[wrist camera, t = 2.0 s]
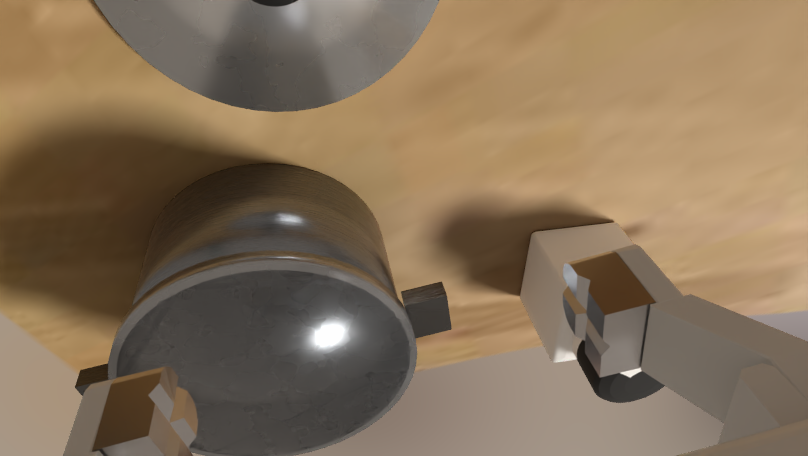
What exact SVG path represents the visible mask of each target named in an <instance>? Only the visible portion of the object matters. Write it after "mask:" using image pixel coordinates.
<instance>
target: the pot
mask: <svg viewBox="0 0 808 456" xmlns="http://www.w3.org/2000/svg"><path fill="white" fill-rule="evenodd" d="M401 294H402V298H403V303H404V306H403V304H402V303H401V302H400V300H399V299H398V297H397V293H396V289H395V285H394V281H393V277H392V273H391V269H390V265H389V261H388V257H387V253H386V250H385V246H384V242H383V238H382V234H381V231H380V228H379V225H378V223H377V221H376V219H375V217H374V215H373V213H372V212H371V210H370V209H369V208H368V206H367V205H366V204H365V202H364V201H363V200H362V199H361V198H360V197H359V196H358V195H357V194H356V193H354V192H353V191H352V190H350V189H349V188H348V187H346V186H345V185H343V184H342V183H340V182H338V181H336V180H335V179H333V178H331V177H329V176H326V175H324V174H321V173H319V172H316V171H313V170H309V169H306V168H302V167H297V166H291V165H285V164H251V165H244V166H238V167H233V168H229V169H226V170H222V171H219V172H216V173H214V174H211V175H209V176H206V177H204V178H202V179H200V180H198V181H197V182H195V183H193V184H191V185H190V186H188V187H187V188H185V189H184V190H183V191H181V192H180V193H179V194H178V195H176V196H175V197H174V198H173V199H172V200H171V201H170V203H169V204H168V205H167V206H166V207H165V208H164V210H163V211H162V213H161V214H160V216H159V217H158V219H157V221H156V223H155V225H154V227H153V229H152V233H151V237H150V240H149V244H148V248H147V251H146V255H145V259H144V263H143V266H142V270H141V274H140V278H139V281H138V285H137V289H136V293H135V296H134V300H133V304H132V307H131V308H130V310H129V311H128V312H127V314H126V315H125V317H124V318H123V319H122V321H121V323H120V326H119V328H118V330H117V332H116V335H115V338H114V342H113V345H112V349H111V353H110V357H109V361H108V364H104V365H100V366H96V367H92V368H87V369H83V370H80V373H79V376H78V379H77V383H76V386H75V388H76V389H77V390H78V391H79V393H80V394H81V395H82V396H83V394H84V392H85V390H86V389H87V388H88V387H89V386H90V385H91V384H95V383H99V382H103V381H108V380H112V379H116V378H118V377H123V376H127V375H131V374H135V373H140V372H144V371H148V370H153V369H157V368H161V367H172V369H173V370H174V372H175V373H176V374H177V376H178V383H177V387H179V388H182V389H184V390H187V391H188V392H189V394H190V395H191V397H192V399H193V401H194V404H195V407H196V412H197V421H198V426H197V436H196V438H195V439H194V440H193V442H192V443H191V444H190V446H189V447H188V449H189V450H190V452H192V453H196V454H201V455H205V456H294V455H299V454H303V453H308V452H312V451H315V450H318V449H321V448H325V447H328V446H330V445H333V444H336V443H338V442H341V441H343V440H345V439H347V438H349V437H351V436H353V435H355V434H357V433H359V432H361V431H362V430H364V429H366V428H367V427H369V426H370V425H372V424H373V423H375V422H376V421H377V420H379V419H380V418H381V417H382V416H383V415H385V414H386V413H387V412H388V411H389V410H390V409H391V408H392V407H393V406H394V405H395V404H396V403H397V401H398V400H399V399H400V398H401V396H402V395H403V393H404V392H405V390H406V389H407V387H408V385H409V383H410V381H411V379H412V377H413V374H414V370H415V366H416V359H417V347H416V339H415V338H419V337H423V336H427V335H431V334H435V333H439V332H443V331H447V330H451V322H450V315H449V308H448V301H447V295H446V292H445V289H444V287H443V284H442V282H438V283H434V284H430V285H426V286H422V287H418V288H414V289H410V290H406V291H402V292H401Z"/></svg>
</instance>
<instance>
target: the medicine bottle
mask: <svg viewBox="0 0 808 456" xmlns="http://www.w3.org/2000/svg"><path fill="white" fill-rule="evenodd" d="M630 245H634V243H633V242H632V241H631V239H630V238H629V237H628V236H627V234H626V233H625V232H624V231H623V229H622V228H621V227H620V226H619V225H618V224H617V223H615V222H613V223H605V224H596V225H588V226H579V227H571V228H563V229H554V230H546V231H537V232H534V233H532V235H531V239H530V244H529V250H528V255H527V261H526V266H525V272H524V277H523V283H522V288H521V293H520V299H521V301H522V303H523V305H524V307H525V309H526V311H527V313H528V315H529V317H530V319H531V321H532V323H533V325H534V327H535V329H536V331H537V333H538V335H539V337H540V339H541V341H542V343H543V345H544V347H545V349H546V351H547V353H548V355H549V357H550V359H551V361H553V362H562V361H569V360H575V359H577V360H578V362H579V364H580V366H581V367H582V370H583V371H584V373H585V375H586V377H587V379H588V381H589V382H590V384H591V386H592V388H593V390H594V392H595V393H596V395H597V396H599V397H600V398H602V399H605V400H607V401H610V402H616V403H623V402H631V401H635V400H638V399H642V398H644V397H647V396H649V395H651V394H653V393H655V392H657V391H658V390H660V389H661V388H663V387H664V386H665V385H663V384H662V383H660V382H659V381H657V380H656V379H654V378H652V377H651V376H649V375H648V374H646V373H645V372H643V371H642V370H641V368H638V369H634V370H629V371H625V372H621V373H617V374H613V375H609V376H604V377H599V375H598V373H597V372H596V370H595V368H594V367H593V365H592V364H591V362H590V360H589V359H588V357H587V355H586V354H585V341H584V340H582V339H580V338H578V337H576V336H575V335H574V333H573V331H572V329H571V328H570V326H569V323H568V321H567V319H566V316H565V311H564V307H563V292H564V290H565V289H566V288H567V286H568V285H567V283H566V282H565V280H564V279H563V267H564V265H565V263H567V262H571V261H575V260H578V259H582V258H586V257H590V256H593V255H597V254H601V253H605V252H608V251H612V250H616V249H619V248H623V247H627V246H630Z"/></svg>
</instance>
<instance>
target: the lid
mask: <svg viewBox="0 0 808 456" xmlns="http://www.w3.org/2000/svg"><path fill="white" fill-rule="evenodd" d="M94 1H95V3H96V4H97V6H98V7H99V9H100V10H101V11H102V13H103V14H104V16H105V17H106V18H107V20H108V21H109V23H110V24H111V25H112V26H113V28H114V29H115V30H116V31H117V32H118V33H119V34H120V36H121V37H122V38H123V39H124V40H125V41H126V42H127V43H128V45H129V46H131V47H132V48H133V49H134V50H135V51H136V52H137V53H138V54H139V55H140V56H142V57H143V58H144V59H145V60H146V61H147V62H148V63H149V64H151V65H152V66H153V67H155V68H156V69H158V70H159V71H160V72H162V73H163V74H164V75H166V76H167V77H169V78H170V79H172V80H174V81H175V82H177V83H179V84H181V85H182V86H184V87H186V88H188V89H189V90H191V91H194V92H196V93H198V94H200V95H203V96H205V97H207V98H210V99H212V100H215V101H218V102H222V103H225V104H228V105H231V106H235V107H240V108H246V109H251V110H258V111H271V112H284V111H299V110H306V109H312V108H318V107H321V106H325V105H328V104H331V103H335V102H338V101H340V100H342V99H345V98H347V97H350V96H352V95H354V94H356V93H358V92H360V91H361V90H363V89H365V88H367V87H368V86H370V85H372V84H373V83H375V82H376V81H377V80H379V79H380V78H381V77H383V76H384V75H385V74H386V73H388V72H389V71H390V70H391V69H392V68H393V67H394V66H395V65H396V64H397V63H398V62H399V61H400V60H401V59H403V58H404V57H405V55H406V54H407V53H408V52H409V50H410V49H411V48H412V47H413V45H414V44H415V43H416V42H417V40H418V39H419V37H420V36H421V34H422V33H423V31H424V29H425V28H426V26H427V24H428V23H429V21H430V19H431V17H432V15H433V13H434V11H435V9H436V6H437V4H438V2H439V0H94Z"/></svg>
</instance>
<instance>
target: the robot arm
mask: <svg viewBox="0 0 808 456" xmlns="http://www.w3.org/2000/svg"><path fill="white" fill-rule="evenodd" d="M563 279H564V280H565V282H566V283H567V285H568V286H567V288H566V289H565V290H564V292H563V307H564V311H565V316H566V319H567V321H568V323H569V326H570V328H571V329H572V331H573V333H574V335H575V336H576V337H578V338H580V339H582V340H584V341H585V354H586V355H587V357H588V359H589V360H590V362H591V364H592V365H593V367H594V368H595V370H596V372H597V373H598V375H599V377H604V376H609V375H613V374H617V373H621V372H625V371H629V370H634V369H638V368H641V370H642V371H643V372H645V373H646V374H648V375H649V376H651V377H652V378H654V379H656V380H657V381H659V382H660V383H662V384H663V385H665V386H666V387H668V388H670V389H671V390H673V391H674V392H676V393H677V394H679V395H680V396H682V397H683V398H685V399H687V400H688V401H690V402H692V403H693V404H694V405H696V406H697V407H699V408H701V409H702V410H704V411H705V412H707V413H708V414H710V415H711V416H713V417H715V418H716V419H718V420H719V421H721V422H722V423H724V426H723V429H722V432H721V435H720V438H719V441H718V444H717V445H713V446H709V447H706V448H702V449H698V450H695V451H691V452H688V453H684V454H681V455H677V456H808V342H807V341H805V340H802V339H800V338H797V337H795V336H793V335H790V334H788V333H785V332H783V331H780V330H777V329H775V328H773V327H770V326H768V325H765V324H763V323H761V322H758V321H755V320H753V319H751V318H748V317H746V316H743V315H741V314H738V313H736V312H733V311H731V310H728V309H726V308H724V307H721V306H719V305H716V304H714V303H711V302H709V301H706V300H704V299H701V298H699V297H696V296H694V295H692V294H690V295H685V296H683V295H682V293H681V292H680V291H679V290H678V289H677V288H676V287H675V285H674V284H673V283H672V282H671V281H670V280H669V279H668V278H667V276H666V275H665V274H664V273H663V272H662V271H661V270H660V268H659V267H658V266H657V265H656V264H655V263H654V262H653V260H652V259H651V258H650V257H649V256H648V255H647V254H646V253H645V251H644V250H643V249H642V248H641V247H640V246H638V245H636V244H634V245H630V246H627V247H623V248H619V249H616V250H612V251H608V252H605V253H601V254H597V255H593V256H590V257H586V258H582V259H578V260H575V261H571V262H567V263H565V265H564V267H563ZM177 383H178V376H177V374H176V373H175V372H174V370H173V369H172V367H161V368H157V369H153V370H148V371H144V372H140V373H135V374H131V375H127V376H123V377H118V378H116V379H112V380H108V381H103V382H99V383H95V384H91V385H90V386H89V387H88V388H87V389H86V390H85V392H84V394H83V397H82V400H81V403H80V406H79V409H78V412H77V415H76V418H75V421H74V424H73V428H72V430H71V434H70V436H69V439H68V442H67V445H66V448H65V451H64V454H63V456H193V455H192V453H191V452H190V450H189V449H188V447H189V446H190V444H191V443H192V442H193V440H194V439H195V438H196V436H197V426H198V421H197V412H196V407H195V404H194V401H193V399H192V397H191V395H190V394H189V392H188V391H187V390H184V389H182V388H179V387H177Z"/></svg>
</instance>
